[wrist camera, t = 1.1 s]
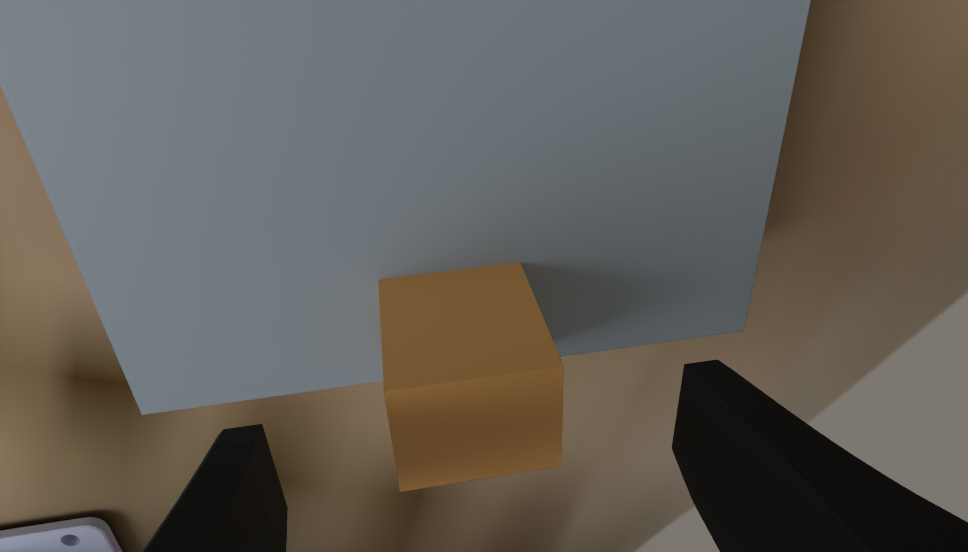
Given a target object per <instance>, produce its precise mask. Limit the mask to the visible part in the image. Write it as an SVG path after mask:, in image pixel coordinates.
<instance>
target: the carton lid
mask: <svg viewBox="0 0 968 552" xmlns="http://www.w3.org/2000/svg"><path fill="white" fill-rule="evenodd" d="M810 1H811V0H0V86H1V88H2V90H3V92H4V95H5V97H6V99H7V102H8V104H9V106H10V109H11V111H12V113H13V116H14V118H15V120H16V123H17V125H18V127H19V130H20V132H21V134H22V137H23V139H24V141H25V144H26V146H27V148H28V151H29V153H30V155H31V158H32V160H33V162H34V165H35V167H36V169H37V172H38V174H39V176H40V179H41V181H42V183H43V186H44V188H45V190H46V193H47V195H48V197H49V200H50V202H51V204H52V207H53V209H54V211H55V214H56V216H57V218H58V221H59V223H60V225H61V228H62V230H63V232H64V235H65V237H66V239H67V242H68V244H69V246H70V249H71V251H72V253H73V256H74V258H75V260H76V262H77V265H78V267H79V269H80V272H81V274H82V276H83V279H84V281H85V283H86V286H87V288H88V290H89V293H90V295H91V297H92V300H93V302H94V304H95V307H96V309H97V311H98V314H99V316H100V318H101V321H102V323H103V325H104V328H105V330H106V332H107V335H108V337H109V339H110V342H111V344H112V346H113V349H114V351H115V353H116V356H117V358H118V360H119V363H120V365H121V367H122V370H123V372H124V374H125V377H126V379H127V381H128V384H129V386H130V388H131V391H132V393H133V395H134V398H135V400H136V402H137V405H138V407H139V409H140V412H141V414H142V415H144V414H152V413H159V412H166V411H173V410H180V409H187V408H195V407H202V406H209V405H216V404H223V403H230V402H238V401H245V400H252V399H259V398H266V397H273V396H281V395H288V394H295V393H302V392H309V391H316V390H324V389H331V388H338V387H345V386H352V385H359V384H367V383H374V382H381V381H383V384H384V395H385V402H386V408H387V414H388V420H389V426H390V432H391V438H392V444H393V450H394V456H395V462H396V469H397V475H398V481H399V487H400V492H402V491H409V490H415V489H421V488H428V487H434V486H440V485H446V484H453V483H459V482H465V481H472V480H478V479H484V478H491V477H497V476H503V475H509V474H516V473H522V472H528V471H535V470H541V469H547V468H553V467H560V466H561V453H562V413H563V372H564V366H563V364H562V361H561V359H560V356H567V355H574V354H582V353H589V352H596V351H603V350H610V349H617V348H625V347H632V346H639V345H646V344H653V343H660V342H668V341H675V340H682V339H689V338H696V337H703V336H711V335H718V334H725V333H732V332H739V331H744V328H745V323H746V318H747V313H748V308H749V303H750V298H751V293H752V288H753V283H754V278H755V274H756V269H757V264H758V259H759V254H760V249H761V244H762V239H763V234H764V229H765V224H766V219H767V214H768V209H769V204H770V199H771V194H772V189H773V184H774V179H775V175H776V170H777V165H778V160H779V155H780V150H781V145H782V140H783V135H784V130H785V125H786V120H787V115H788V110H789V105H790V100H791V95H792V90H793V85H794V80H795V76H796V71H797V66H798V61H799V56H800V51H801V46H802V41H803V36H804V31H805V26H806V21H807V16H808V11H809V6H810Z"/></svg>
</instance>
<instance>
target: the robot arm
mask: <svg viewBox="0 0 968 552" xmlns="http://www.w3.org/2000/svg"><path fill="white" fill-rule="evenodd" d="M672 450H673V452H674V455H675V458H676V460H677V463H678V466H679V468H680V471H681V473H682V476H683V479H684V481H685V483H686V486H687V488H688V491H689V493H690V496H691V498H692V500H693V502H694V504H695V506H696V508H697V510H698V511H699V514H700V516H701V517H702V519H703V521H704V523H705V525H706V527H707V529H708V530H709V532H710V534H711V536H712V538H713V540H714V541H715V543H716V545H717V547H718V549H719V551H720V552H968V522H966V521H964V520H962V519H960V518H959V517H957V516H955V515H953V514H951V513H950V512H948V511H946V510H944V509H942V508H941V507H939V506H937V505H935V504H933V503H931V502H929V501H928V500H926V499H924V498H922V497H921V496H919V495H917V494H915V493H914V492H912V491H910V490H908V489H907V488H905V487H903V486H902V485H900V484H898V483H896V482H895V481H893V480H892V479H890V478H888V477H887V476H885V475H884V474H882V473H881V472H879V471H877V470H876V469H874V468H873V467H871V466H869V465H868V464H866V463H865V462H863V461H861V460H860V459H858V458H857V457H855V456H853V455H852V454H850V453H849V452H848V451H846V450H844V449H843V448H841V447H840V446H838V445H837V444H835V443H834V442H832V441H831V440H830V439H828V438H827V437H825V436H824V435H822V434H821V433H819V432H818V431H816V430H815V429H814V428H812V427H811V426H809V425H808V424H806V423H805V422H804V421H802V420H801V419H799V418H798V417H797V416H795V415H794V414H792V413H791V412H790V411H788V410H787V409H785V408H784V407H783V406H781V405H780V404H779V403H777V402H776V401H774V400H773V399H772V398H770V397H769V396H768V395H766V394H765V393H763V392H762V391H761V390H759V389H758V388H757V387H755V386H754V385H752V384H751V383H750V382H748V381H747V380H746V379H744V378H743V377H742V376H740V375H739V374H737V373H736V372H735V371H733V370H732V369H730V368H729V367H728V366H726V365H725V364H723V363H722V362H720V361H719V360H711V361H704V362H697V363H690V364H684V370H683V376H682V383H681V390H680V396H679V403H678V410H677V416H676V423H675V430H674V436H673V443H672ZM286 539H287V505H286V501H285V498H284V495H283V491H282V488H281V485H280V482H279V478H278V475H277V472H276V468H275V465H274V462H273V459H272V455H271V452H270V449H269V445H268V442H267V439H266V436H265V432H264V429H263V426H262V424H258V425H251V426H244V427H237V428H230V429H224V430H223V431H222V432H221V433H220V434H219V435H218V437H217V438H216V440H215V442H214V443H213V445H212V446H211V448H210V450H209V451H208V453H207V455H206V456H205V458H204V459H203V461H202V463H201V464H200V466H199V467H198V469H197V471H196V472H195V474H194V475H193V477H192V479H191V480H190V482H189V483H188V485H187V486H186V488H185V489H184V491H183V493H182V494H181V496H180V497H179V499H178V500H177V502H176V503H175V505H174V506H173V508H172V509H171V511H170V512H169V514H168V515H167V517H166V518H165V520H164V521H163V523H162V524H161V525H160V527H159V528H158V530H157V531H156V533H155V534H154V536H153V537H152V539H151V540H150V542H149V543H148V545H147V546H146V547H145V549H144V550H143V552H286ZM0 552H122V550H121V548H120V546H119V544H118V542H117V541H116V539H115V537H114V535H113V533H112V531H111V529H110V527H109V525H108V524H107V523H106V522H105V521H103V520H102V519H100V518H95V517H85V518H79V519H72V520H66V521H59V522H53V523H46V524H40V525H33V526H27V527H21V528H14V529H8V530H1V531H0Z"/></svg>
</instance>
